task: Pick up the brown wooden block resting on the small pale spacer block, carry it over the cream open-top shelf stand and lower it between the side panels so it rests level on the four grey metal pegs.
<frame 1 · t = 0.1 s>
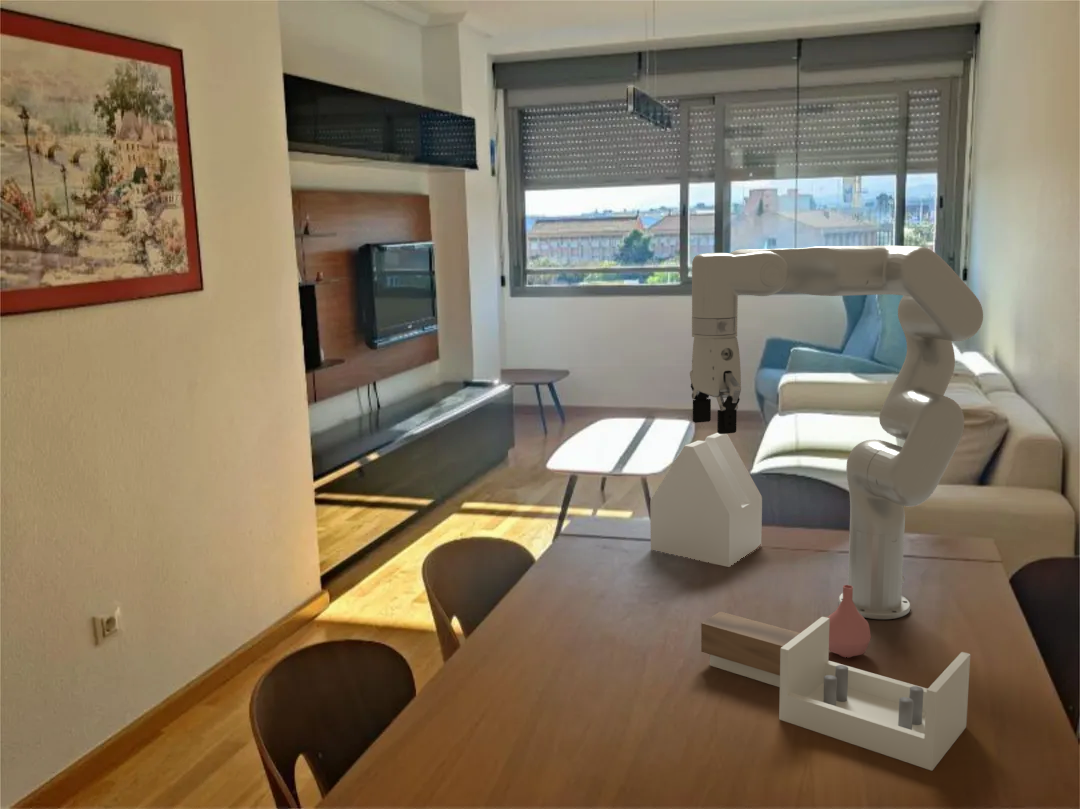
hand: (713, 427, 166), 37 cm above the table, tool pointing down, fingers open, 9 cm apart
stand: (871, 723, 140), on the table
brown wooden block: (754, 658, 156), point 2 cm above the table, touching spacer
pink vase: (845, 655, 162), on the table
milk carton: (706, 549, 216), on the table
spacer: (753, 672, 157), on the table
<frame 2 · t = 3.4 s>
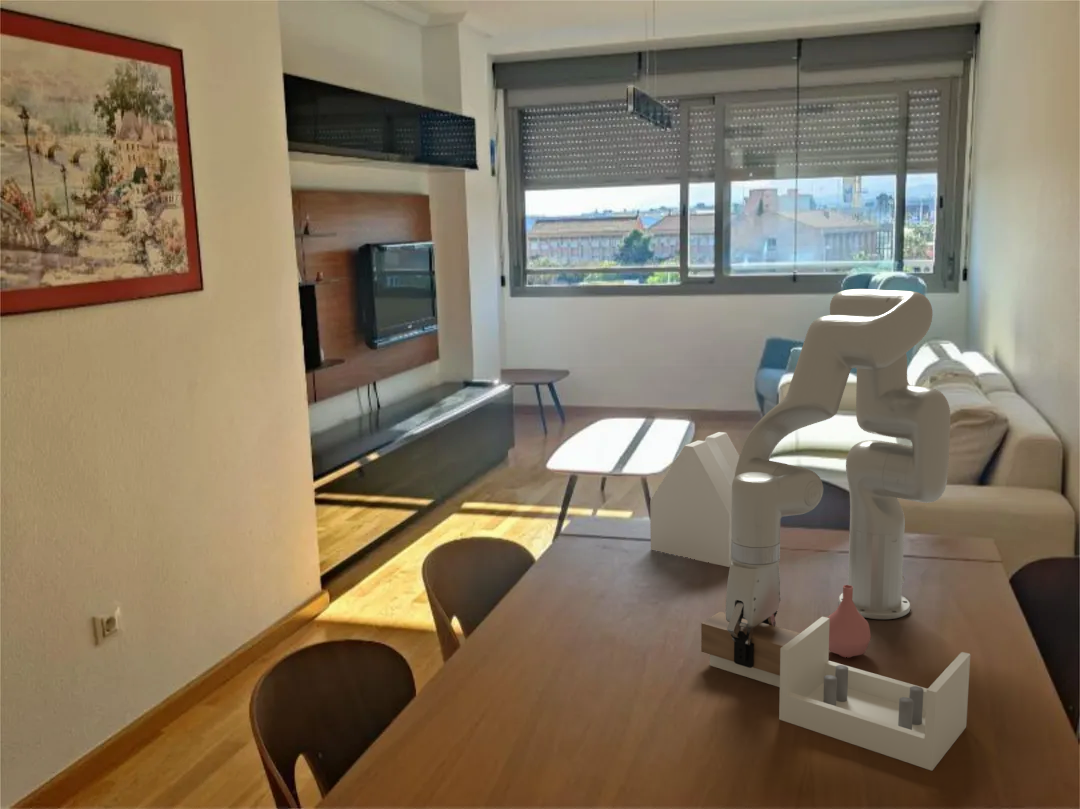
hand: (754, 656, 156), 3 cm above the table, tool pointing down, fingers closed on brown wooden block, 6 cm apart
brown wooden block: (754, 658, 156), point 2 cm above the table, touching gripper, spacer
everything else where it was.
when the fingers open (8 cm above the table, at t = 8.9 s): brown wooden block drops 1 cm, resting on stand.
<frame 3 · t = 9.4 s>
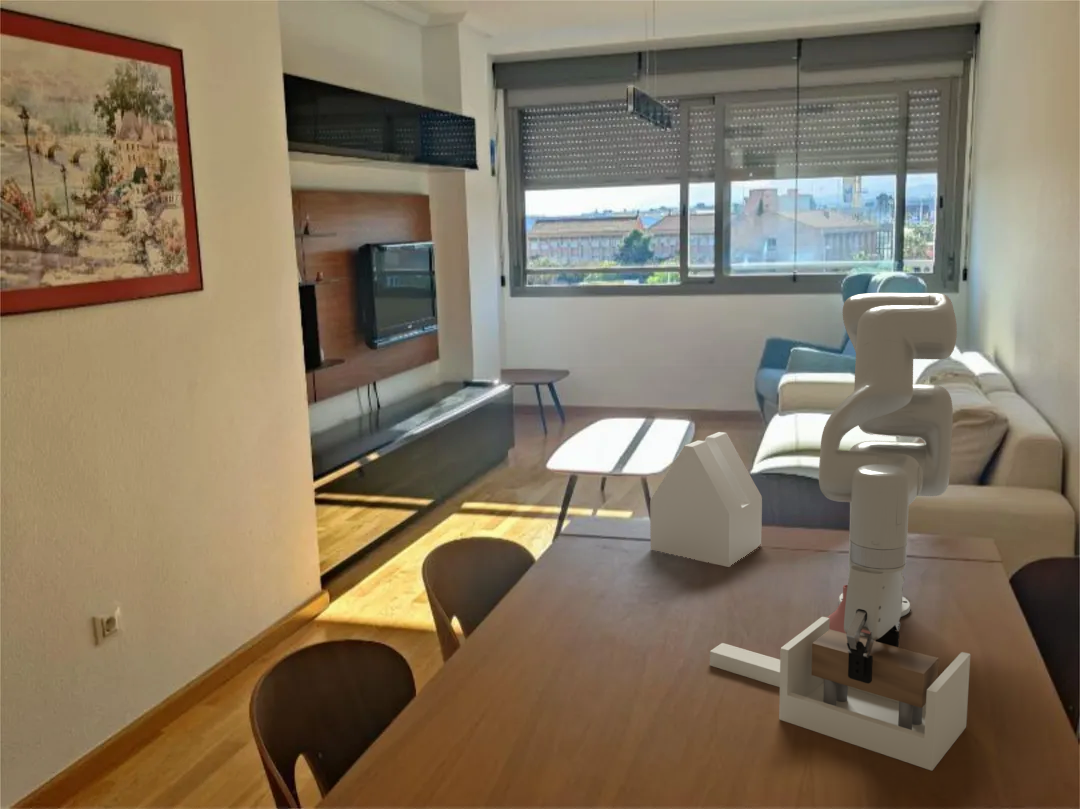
hand: (873, 667, 139), 9 cm above the table, tool pointing down, fingers open, 9 cm apart
brown wooden block: (872, 682, 139), point 6 cm above the table, touching stand
everything else where it was.
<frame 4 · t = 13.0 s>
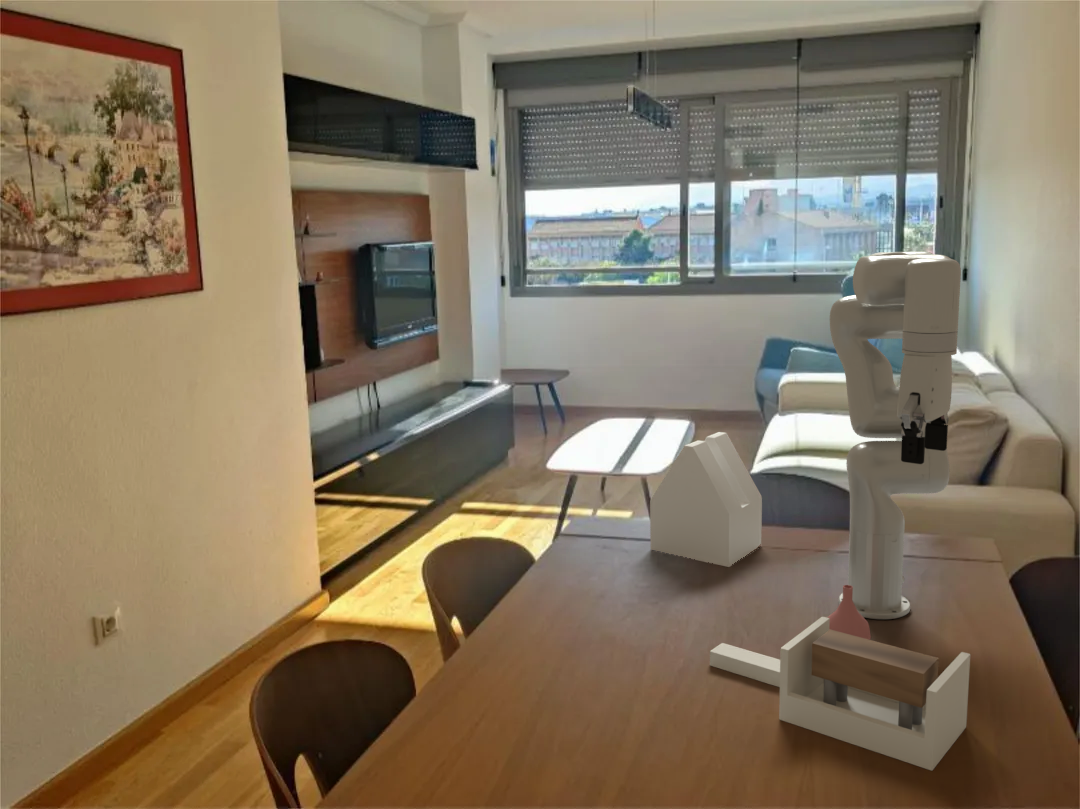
hand: (924, 455, 146), 36 cm above the table, tool pointing down, fingers open, 9 cm apart
nothing on the table moved.
at the end: brown wooden block 0.2 cm off-centre on the stand, point 6.2 cm above the stand's base; brown wooden block tilted 0°; the gripper is holding nothing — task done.
